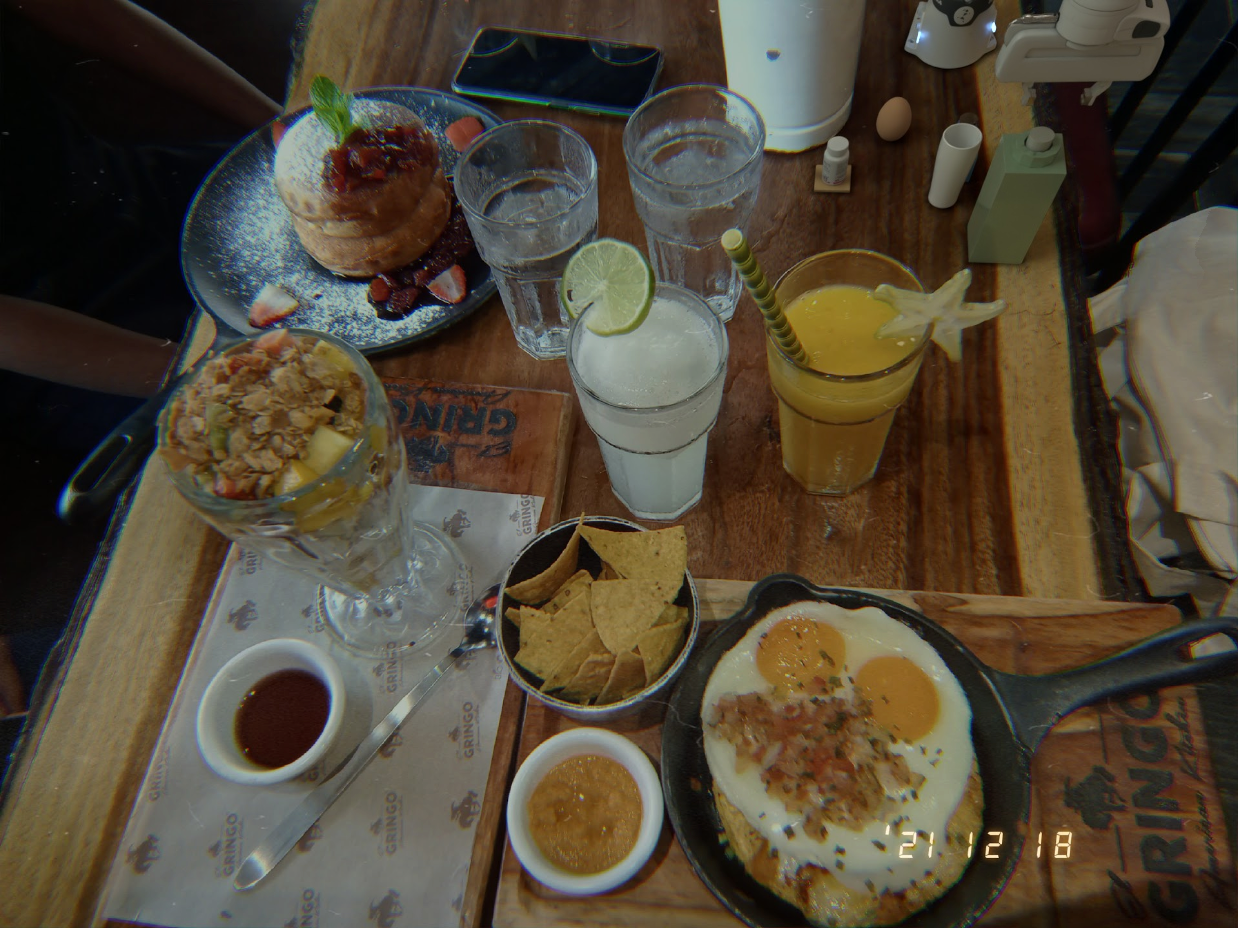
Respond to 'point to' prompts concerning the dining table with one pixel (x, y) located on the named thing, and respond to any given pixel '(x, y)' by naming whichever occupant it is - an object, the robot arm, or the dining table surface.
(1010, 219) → the dispenser
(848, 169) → the mat
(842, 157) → the pill bottle
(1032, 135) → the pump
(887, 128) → the egg
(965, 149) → the drinking glass
